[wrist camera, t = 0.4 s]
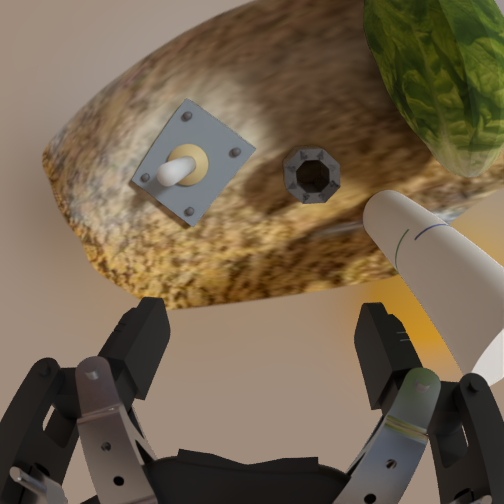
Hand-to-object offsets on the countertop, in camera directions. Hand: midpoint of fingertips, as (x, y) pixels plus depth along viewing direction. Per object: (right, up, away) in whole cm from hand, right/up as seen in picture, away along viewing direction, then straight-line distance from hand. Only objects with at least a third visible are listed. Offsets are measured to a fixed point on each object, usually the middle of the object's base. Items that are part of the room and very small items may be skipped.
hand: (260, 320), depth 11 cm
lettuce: (+20, +24, +14) cm, 35 cm away
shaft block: (-8, +13, +21) cm, 26 cm away
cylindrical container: (+17, +7, +22) cm, 29 cm away
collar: (+6, +12, +20) cm, 24 cm away
